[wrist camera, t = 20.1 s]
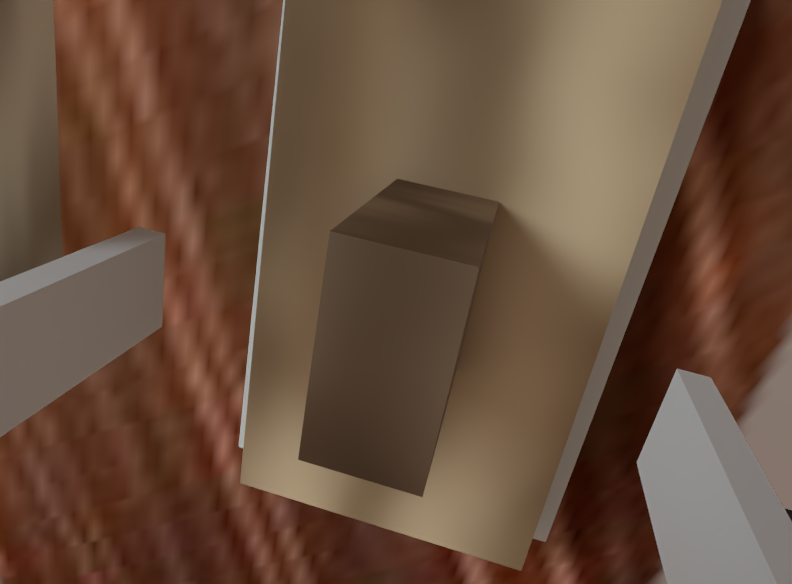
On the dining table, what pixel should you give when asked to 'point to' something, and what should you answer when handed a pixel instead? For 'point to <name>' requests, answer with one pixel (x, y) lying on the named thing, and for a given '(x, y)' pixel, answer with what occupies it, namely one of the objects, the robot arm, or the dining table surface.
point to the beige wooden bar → (28, 138)
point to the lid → (452, 248)
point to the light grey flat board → (642, 257)
